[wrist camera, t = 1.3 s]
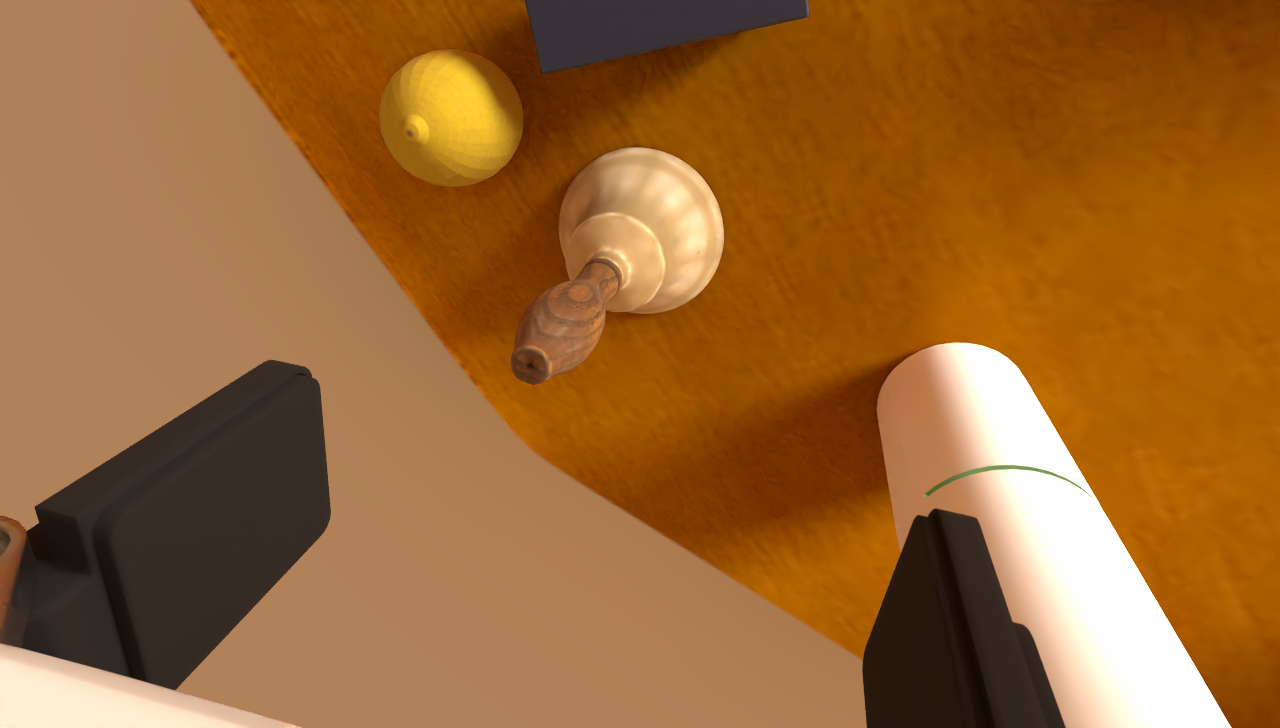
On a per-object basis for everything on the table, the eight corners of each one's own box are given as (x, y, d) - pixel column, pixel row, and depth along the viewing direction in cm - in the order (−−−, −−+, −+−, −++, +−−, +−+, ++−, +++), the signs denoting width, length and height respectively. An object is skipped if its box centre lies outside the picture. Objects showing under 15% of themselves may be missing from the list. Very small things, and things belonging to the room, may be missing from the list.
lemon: (416, 108, 35) (318, 131, 28) (482, 18, 33) (393, 18, 26) (499, 191, 36) (424, 233, 29) (569, 109, 34) (506, 133, 27)
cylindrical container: (849, 429, 38) (903, 1007, 16) (928, 317, 34) (1138, 853, 12) (972, 490, 38) (1196, 1151, 16) (1063, 384, 34) (1510, 1037, 12)
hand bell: (538, 169, 35) (357, 270, 21) (702, 127, 33) (621, 210, 19) (586, 324, 38) (457, 502, 24) (740, 296, 36) (695, 475, 22)
